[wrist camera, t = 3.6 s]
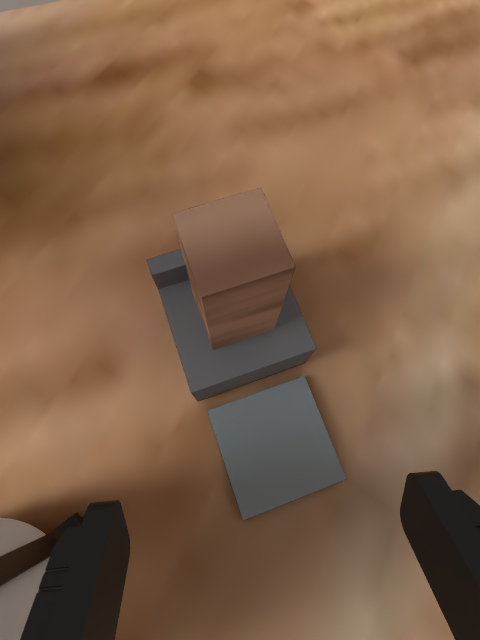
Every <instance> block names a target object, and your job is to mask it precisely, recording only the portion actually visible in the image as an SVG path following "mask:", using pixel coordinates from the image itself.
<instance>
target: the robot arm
mask: <svg viewBox="0 0 480 640" xmlns="http://www.w3.org/2000/svg"><path fill="white" fill-rule="evenodd" d="M400 517H401V522H402V526H403V529H404V532H405V534H406V536H407V538H408V540H409V543H410V545H411V547H412V549H413V551H414V553H415V555H416V557H417V560H418V562H419V564H420V566H421V568H422V570H423V572H424V574H425V576H426V579H427V581H428V583H429V585H430V587H431V589H432V591H433V593H434V596H435V598H436V600H437V602H438V604H439V606H440V608H441V610H442V612H443V615H444V617H445V619H446V621H447V623H448V625H449V627H450V629H451V631H452V634H453V636H454V638H455V640H480V505H478V504H477V503H476V502H475V501H474V500H472V499H471V498H470V497H469V496H468V495H466V494H465V493H464V492H463V491H462V490H454V491H452V490H451V489H450V487H449V486H448V484H447V483H446V481H445V479H444V478H443V477H442V475H441V474H440V473H439V472H437V471H430V472H418V473H409V474H408V476H407V479H406V483H405V488H404V493H403V498H402V502H401V507H400ZM129 554H130V539H129V533H128V529H127V526H126V522H125V518H124V514H123V511H122V507H121V503H120V501H118V500H116V501H105V502H94V503H90V504H89V505H88V507H87V510H86V513H85V516H84V519H83V522H82V526H73V527H68V528H67V529H66V531H65V532H64V533H63V535H62V536H61V537H60V539H59V540H58V541H57V543H56V544H55V545H54V547H53V549H52V552H51V555H50V558H49V560H48V563H47V566H46V571H45V573H44V574H43V577H42V580H41V583H40V585H39V591H38V592H37V594H36V596H35V599H34V602H33V605H32V607H31V610H30V613H29V616H28V619H27V621H26V624H25V627H24V630H23V632H22V635H21V638H20V640H114V639H115V634H116V628H117V623H118V617H119V612H120V606H121V601H122V595H123V590H124V584H125V579H126V573H127V567H128V562H129Z"/></svg>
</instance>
